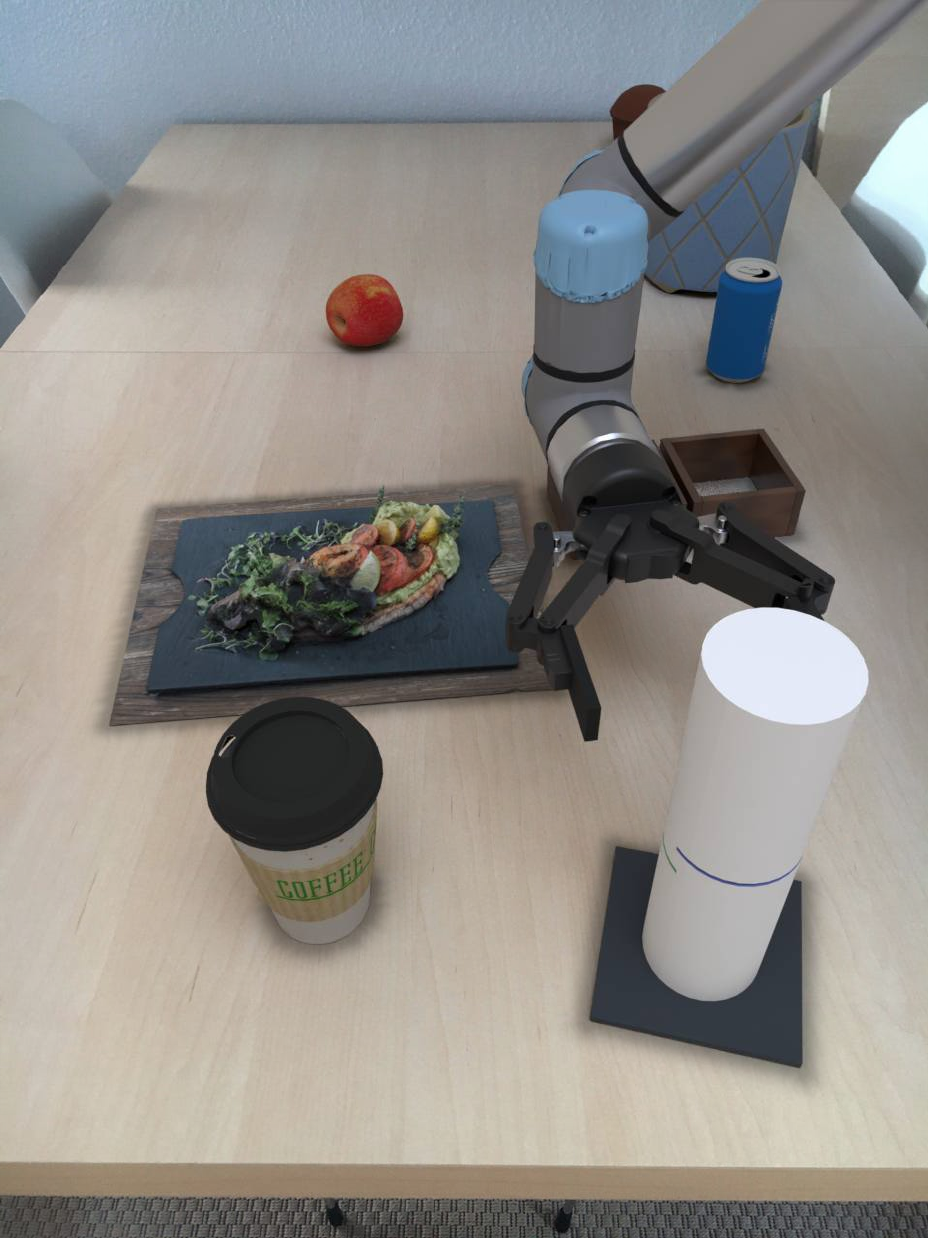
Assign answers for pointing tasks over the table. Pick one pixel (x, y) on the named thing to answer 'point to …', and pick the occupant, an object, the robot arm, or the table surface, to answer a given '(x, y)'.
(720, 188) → the planter
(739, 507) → the stand
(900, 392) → the table surface
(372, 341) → the apple
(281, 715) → the coffee cup
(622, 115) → the muffin
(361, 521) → the plated dish
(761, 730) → the cylindrical container
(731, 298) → the beverage can
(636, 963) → the mat
